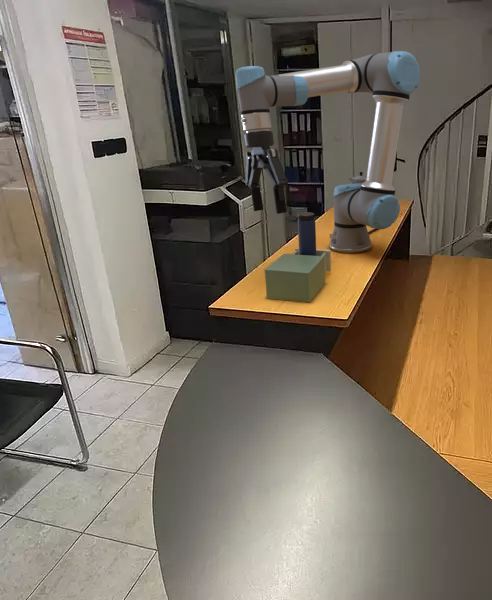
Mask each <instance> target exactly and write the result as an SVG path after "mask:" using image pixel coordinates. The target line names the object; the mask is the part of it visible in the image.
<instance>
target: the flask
mask: <svg viewBox="0 0 492 600" xmlns="http://www.w3.org/2000/svg"><path fill="white" fill-rule="evenodd" d="M316 228H317V227H316V218H315V213H314V212H311V211H306V212H305V211H304V212H299V213H297V236H298V248H299V255H310V256H316V249H317V229H316Z"/></svg>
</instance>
